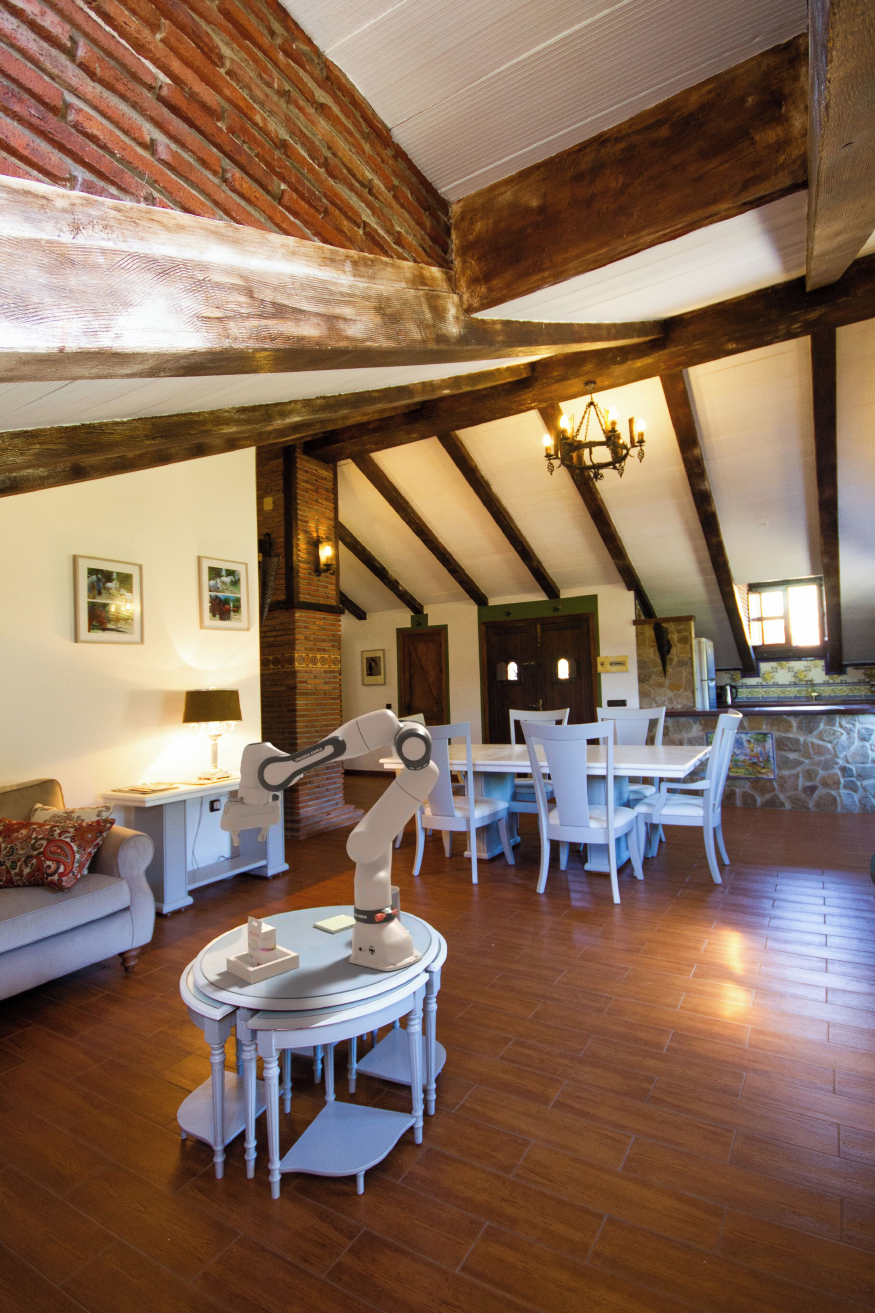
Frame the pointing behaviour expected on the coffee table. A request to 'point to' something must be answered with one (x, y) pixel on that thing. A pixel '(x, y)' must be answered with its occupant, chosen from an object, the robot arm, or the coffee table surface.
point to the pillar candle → (396, 900)
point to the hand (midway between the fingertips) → (249, 843)
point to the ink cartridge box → (261, 943)
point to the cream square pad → (336, 924)
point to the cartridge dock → (252, 975)
